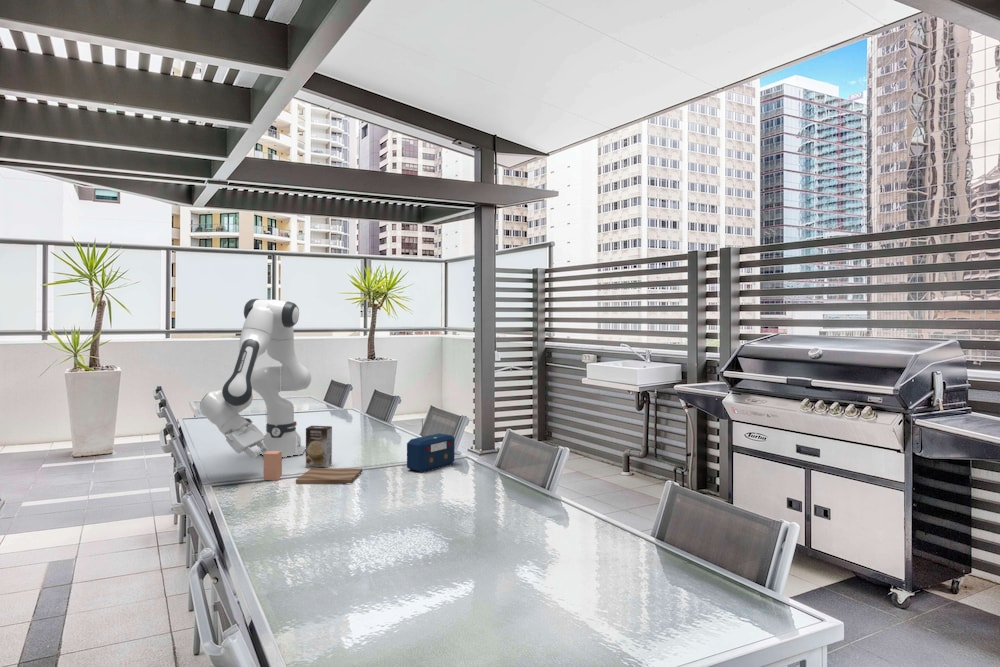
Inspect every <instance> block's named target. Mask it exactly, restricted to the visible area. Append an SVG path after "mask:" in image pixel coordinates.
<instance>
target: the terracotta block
mask: <svg viewBox="0 0 1000 667" xmlns="http://www.w3.org/2000/svg"><path fill="white" fill-rule="evenodd" d="M262 457H263V481H264V480H273V481H272V482H277V481H279V480H280V479H281V478H280V477H281V476H282V477H283V462H282V461H283V458H282V451H268V452H266V453H264V454H263V456H262ZM279 478H280V479H279ZM278 479H279V480H278Z"/></svg>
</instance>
